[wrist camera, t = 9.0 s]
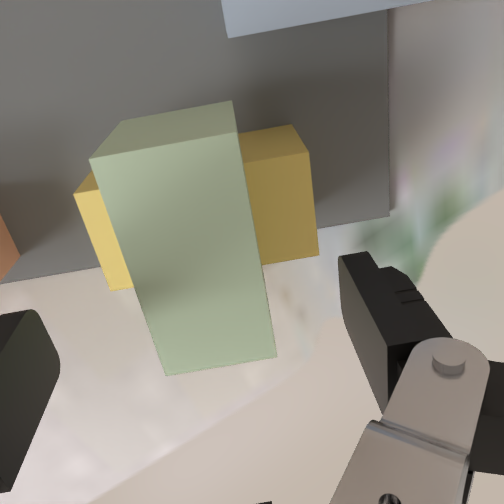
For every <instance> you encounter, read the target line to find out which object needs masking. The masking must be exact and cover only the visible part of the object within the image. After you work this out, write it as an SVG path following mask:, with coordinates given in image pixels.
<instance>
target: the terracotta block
mask: <svg viewBox="0 0 504 504" xmlns="http://www.w3.org/2000/svg"><path fill="white" fill-rule="evenodd" d="M19 257H20V254H19V252H18V250H17V248H16V246H15V244H14V241H13V239H12V237H11V235H10V233H9V231H8V229H7V227H6V225H5V223H4V221H3V219H2V217H1V215H0V281H1V280H2V279H3V278H4V276H5V275H6V274H7V273H8V271H9V270H10V269H11V268H12V266H13V265H14V264H15V262H16V261H17V260H18V259H19Z"/></svg>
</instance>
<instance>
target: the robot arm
mask: <svg viewBox="0 0 504 504" xmlns="http://www.w3.org/2000/svg"><path fill="white" fill-rule="evenodd" d="M338 271H339V285H340V299H341V309H342V315H343V319H344V323H345V326H346V329H347V331H348V334H349V336H350V338H351V341H352V343H353V346H354V348H355V350H356V353H357V355H358V358H359V360H360V362H361V365H362V367H363V369H364V372H365V374H366V377H367V379H368V381H369V384H370V386H371V389H372V391H373V393H374V396H375V398H376V400H377V403H378V405H379V408H380V410H381V413H382V415H383V416H382V418H381V420H380V421H379V422H378V421H376V420H371V421H370V422H369V423H368V424H367V426H366V428H365V430H364V431H363V434H362V436H361V438H360V440H359V442H358V444H357V446H356V448H355V450H354V453H353V455H352V457H351V459H350V461H349V463H348V466H347V468H346V470H345V472H344V474H343V476H342V478H341V480H340V482H339V484H338V486H337V489H336V491H335V493H334V495H333V497H332V499H331V501H330V503H329V504H468V501H469V496H470V492H471V487H472V483H473V478H474V474H475V471H477V472H484V473H491V474H498V475H504V363H501V362H494V361H489V360H487V358H486V357H485V355H484V354H483V353H482V352H481V351H480V350H479V349H477V348H476V347H474V346H473V345H471V344H469V343H467V342H464V341H461V340H458V339H453V337H452V336H451V335H450V333H449V332H448V331H447V329H446V328H445V326H444V325H443V324H442V322H441V321H440V320H439V319H438V317H437V315H436V314H435V313H434V311H433V310H432V309H431V307H430V306H429V305H428V303H427V302H426V301H424V298H423V296H422V295H421V294H420V292H419V291H417V289H416V287H415V285H414V284H413V283H412V281H411V280H410V279H409V277H408V276H407V275H405V274H404V273H402V272H400V271H399V270H397V269H395V268H394V267H392V266H390V267H385V268H378V266H377V265H376V263H375V261H374V260H373V258H372V257H371V255H370V254H369V252H367V251H365V252H360V253H354V254H348V255H342V256H339V257H338ZM59 374H60V359H59V355H58V353H57V351H56V349H55V347H54V344H53V342H52V340H51V338H50V336H49V334H48V332H47V330H46V328H45V326H44V324H43V322H42V320H41V318H40V316H39V314H38V313H37V312H36V311H35V310H32V309H30V310H24V311H19V312H13V313H7V314H2V315H1V316H0V493H5V492H11V489H12V487H13V484H14V482H15V480H16V477H17V475H18V473H19V470H20V468H21V465H22V463H23V461H24V458H25V456H26V454H27V451H28V449H29V446H30V444H31V442H32V439H33V437H34V435H35V432H36V430H37V427H38V425H39V423H40V420H41V418H42V416H43V413H44V411H45V408H46V406H47V404H48V401H49V399H50V397H51V394H52V392H53V389H54V387H55V385H56V382H57V380H58V377H59ZM259 504H272V501H270V502H264V503H259Z"/></svg>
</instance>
